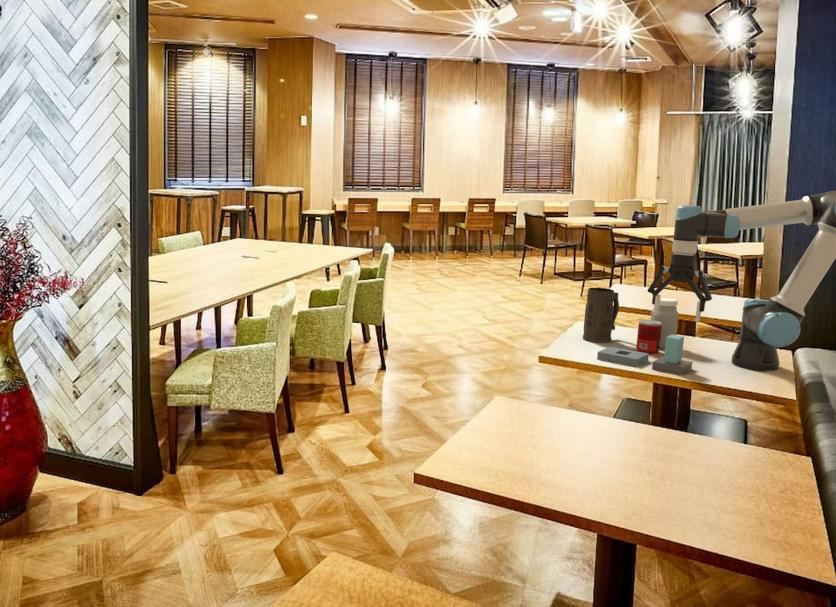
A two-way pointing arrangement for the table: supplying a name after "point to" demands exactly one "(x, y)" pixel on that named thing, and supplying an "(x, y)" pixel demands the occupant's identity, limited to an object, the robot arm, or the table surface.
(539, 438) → the table surface
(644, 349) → the canned food
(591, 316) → the beer stein
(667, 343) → the plug
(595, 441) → the table surface
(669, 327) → the jar
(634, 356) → the port panel
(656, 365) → the hollow square frame
